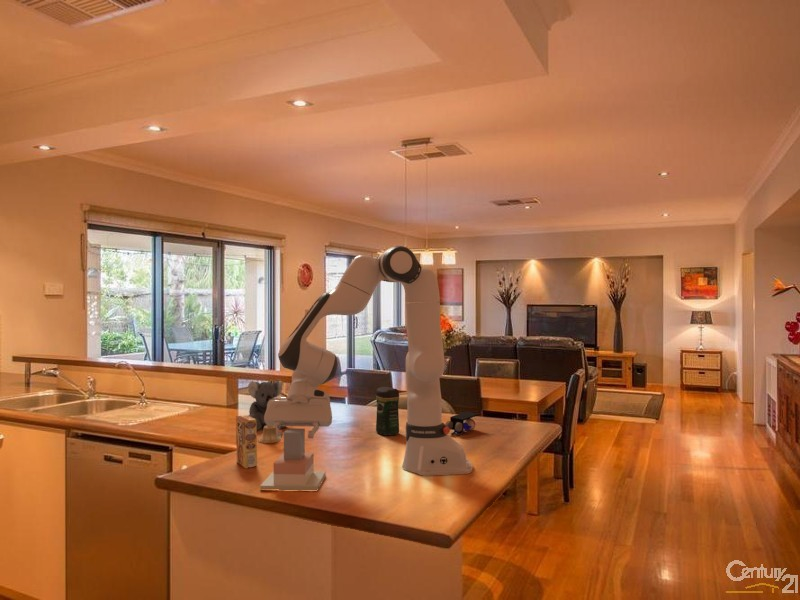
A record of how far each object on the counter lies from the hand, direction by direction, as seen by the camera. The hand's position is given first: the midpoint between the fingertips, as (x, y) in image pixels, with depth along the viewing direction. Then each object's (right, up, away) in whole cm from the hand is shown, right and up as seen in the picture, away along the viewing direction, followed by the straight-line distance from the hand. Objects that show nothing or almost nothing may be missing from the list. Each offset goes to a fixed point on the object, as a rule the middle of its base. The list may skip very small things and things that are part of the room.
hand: (294, 437), depth 168 cm
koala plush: (-26, -13, +75) cm, 81 cm away
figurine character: (+56, -14, +63) cm, 85 cm away
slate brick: (0, -6, 0) cm, 6 cm away
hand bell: (-19, -13, +50) cm, 55 cm away
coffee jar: (+26, -13, +61) cm, 68 cm away
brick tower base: (0, -13, 0) cm, 13 cm away
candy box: (-19, -14, +19) cm, 30 cm away
